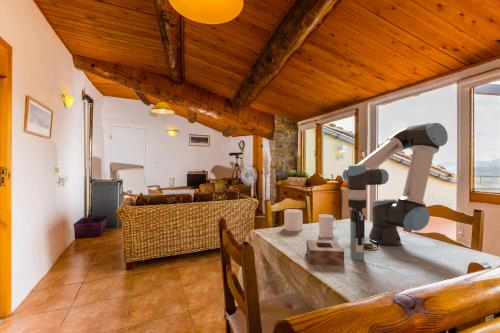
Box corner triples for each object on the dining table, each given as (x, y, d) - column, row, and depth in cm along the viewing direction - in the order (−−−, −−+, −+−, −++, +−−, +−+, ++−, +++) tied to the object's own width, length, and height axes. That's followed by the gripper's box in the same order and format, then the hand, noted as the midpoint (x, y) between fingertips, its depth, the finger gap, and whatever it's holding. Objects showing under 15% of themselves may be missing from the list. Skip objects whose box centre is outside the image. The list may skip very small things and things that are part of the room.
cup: (284, 231, 152) (284, 212, 152) (284, 226, 163) (284, 208, 163) (303, 231, 150) (302, 212, 150) (302, 226, 161) (301, 209, 161)
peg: (360, 256, 110) (360, 221, 110) (364, 260, 105) (364, 224, 105) (350, 255, 110) (350, 221, 110) (353, 259, 106) (353, 224, 106)
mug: (333, 232, 147) (333, 213, 147) (341, 236, 139) (341, 216, 139) (315, 234, 144) (315, 214, 144) (323, 238, 136) (323, 217, 136)
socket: (336, 253, 114) (336, 240, 114) (344, 265, 100) (344, 251, 100) (306, 251, 116) (306, 239, 116) (310, 264, 102) (310, 250, 102)
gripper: (343, 196, 117) (343, 243, 117) (354, 201, 99) (354, 257, 100) (359, 196, 116) (359, 243, 116) (373, 202, 98) (373, 257, 99)
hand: (357, 249), depth 108 cm, fingers closed on peg, 4 cm apart
